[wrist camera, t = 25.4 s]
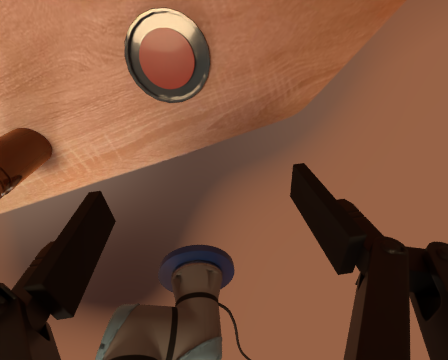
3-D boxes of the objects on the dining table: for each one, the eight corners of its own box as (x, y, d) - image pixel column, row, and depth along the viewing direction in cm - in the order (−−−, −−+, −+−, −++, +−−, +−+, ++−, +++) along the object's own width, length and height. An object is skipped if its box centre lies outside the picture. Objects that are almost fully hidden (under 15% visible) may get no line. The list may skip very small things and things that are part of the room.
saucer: (212, 96, 36) (213, 98, 35) (140, 103, 35) (138, 106, 34) (204, 5, 29) (204, 4, 28) (115, 12, 29) (111, 11, 28)
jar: (60, 153, 39) (16, 192, 29) (32, 167, 40) (-20, 209, 30) (28, 121, 35) (-34, 153, 26) (-2, 138, 36) (-73, 175, 27)
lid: (166, 13, 29) (164, 12, 28) (205, 62, 33) (205, 63, 31) (130, 56, 31) (127, 57, 30) (170, 97, 35) (169, 100, 34)
